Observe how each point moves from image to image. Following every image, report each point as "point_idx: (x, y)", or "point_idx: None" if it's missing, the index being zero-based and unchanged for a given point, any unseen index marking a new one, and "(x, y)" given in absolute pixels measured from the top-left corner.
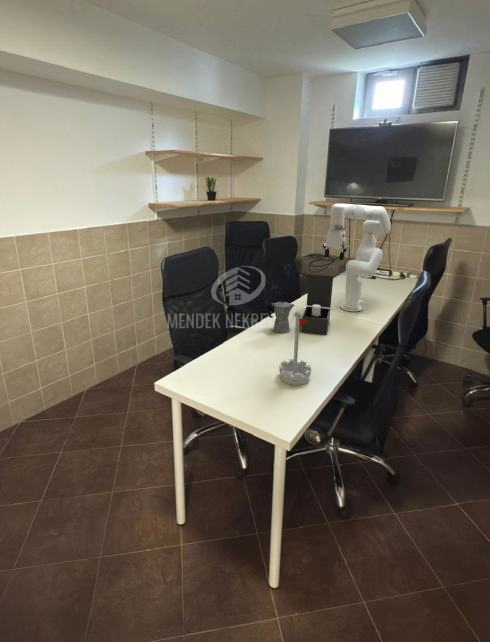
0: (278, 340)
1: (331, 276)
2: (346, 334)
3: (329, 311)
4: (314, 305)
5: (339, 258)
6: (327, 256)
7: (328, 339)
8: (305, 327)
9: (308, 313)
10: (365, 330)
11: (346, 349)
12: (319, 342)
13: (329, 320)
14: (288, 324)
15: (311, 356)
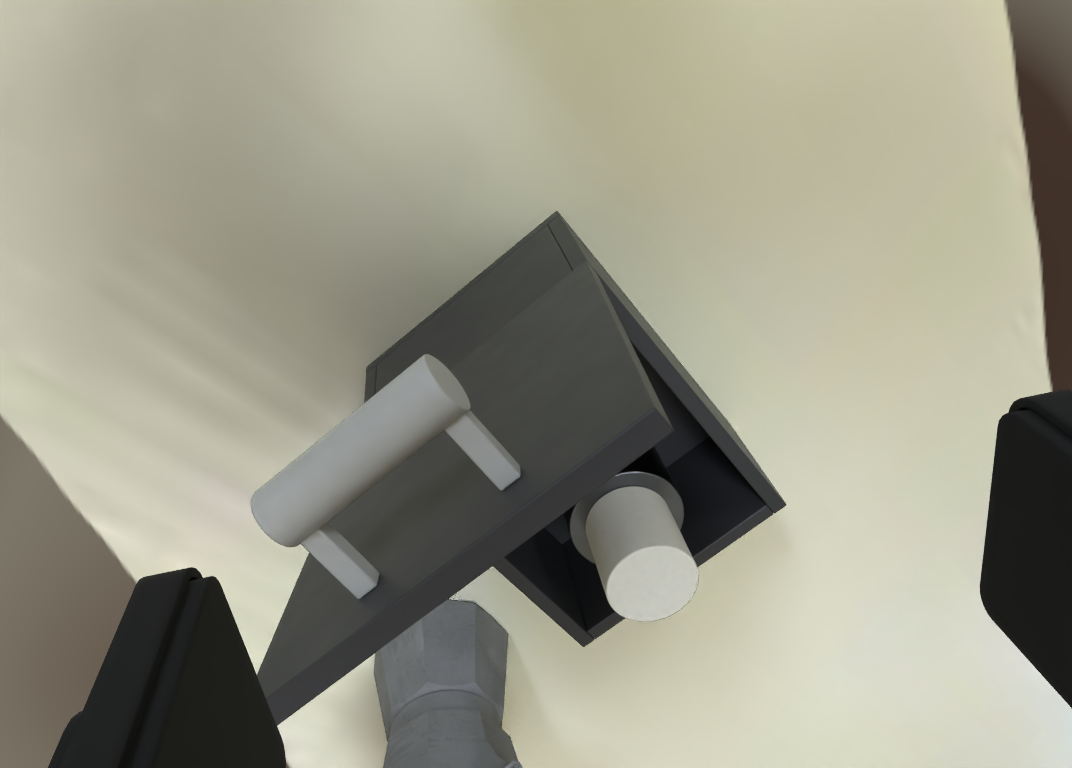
0: (577, 739)
1: (639, 449)
2: (839, 278)
3: (650, 343)
4: (632, 597)
5: (1010, 638)
6: (248, 682)
7: (794, 467)
8: None
9: None
10: (919, 38)
11: (976, 469)
12: (780, 549)
13: (563, 219)
14: (491, 662)
15: (867, 690)
